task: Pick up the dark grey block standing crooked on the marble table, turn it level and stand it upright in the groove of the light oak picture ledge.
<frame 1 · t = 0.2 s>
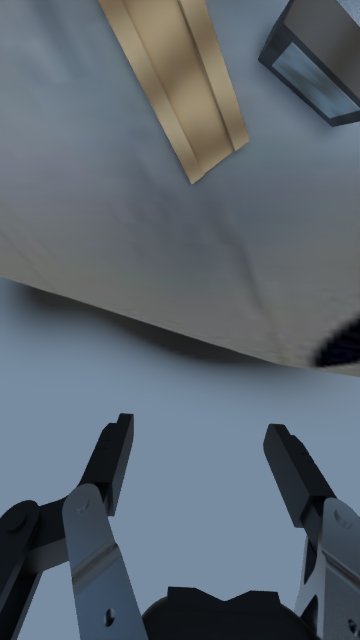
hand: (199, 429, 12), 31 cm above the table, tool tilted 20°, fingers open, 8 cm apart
dark grey block: (306, 81, 23), on the table
picture ledge: (176, 69, 23), on the table
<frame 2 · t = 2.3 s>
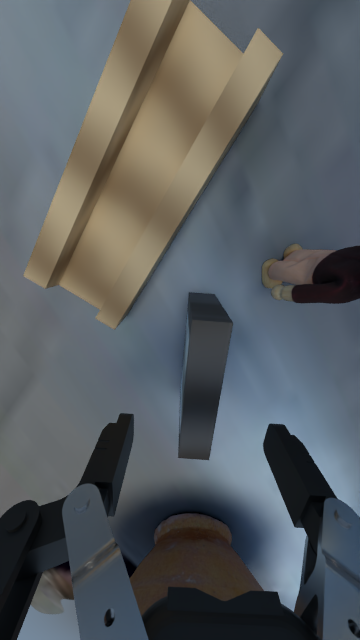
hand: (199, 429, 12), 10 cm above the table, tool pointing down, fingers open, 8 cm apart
grandmother figurine: (287, 263, 18), on the table
jug: (191, 530, 34), on the table
dark grey block: (195, 347, 22), on the table
picture ledge: (142, 197, 17), on the table
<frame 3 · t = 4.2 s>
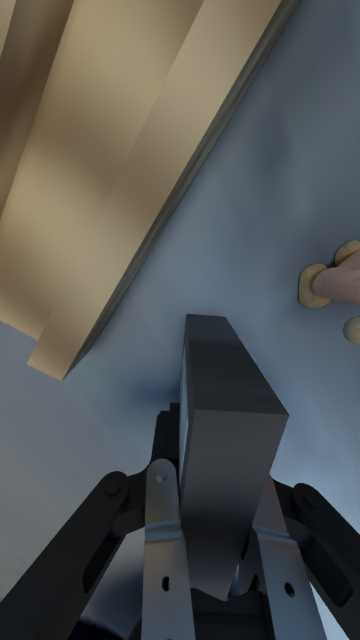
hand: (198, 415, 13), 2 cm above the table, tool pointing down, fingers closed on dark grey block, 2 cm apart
grandmother figurine: (339, 271, 12), on the table
dark grey block: (196, 391, 15), on the table, touching gripper
picture ledge: (108, 160, 10), on the table
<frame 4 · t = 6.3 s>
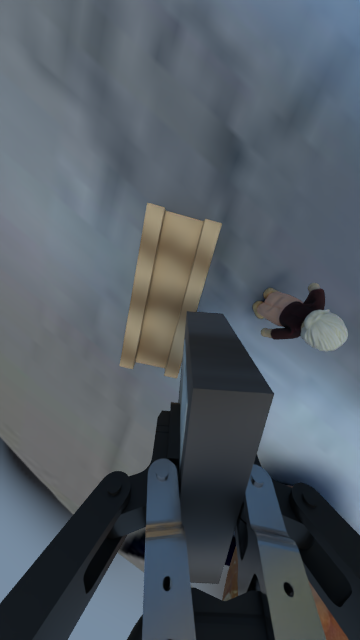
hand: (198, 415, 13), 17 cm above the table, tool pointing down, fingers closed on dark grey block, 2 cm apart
grandmother figurine: (268, 299, 28), on the table
jug: (272, 499, 43), on the table
dark grey block: (195, 384, 16), point 14 cm above the table, touching gripper
picture ledge: (166, 296, 27), on the table
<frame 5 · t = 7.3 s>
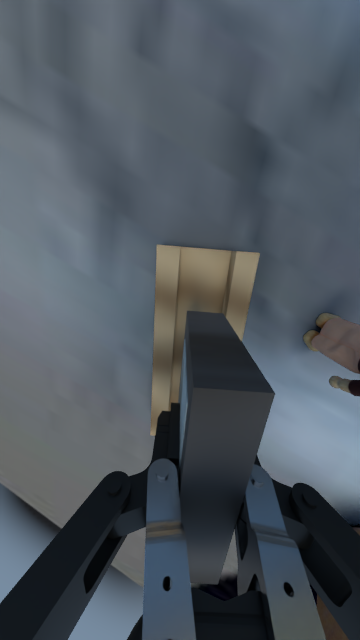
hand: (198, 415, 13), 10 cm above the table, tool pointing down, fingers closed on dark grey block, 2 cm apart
grandmother figurine: (323, 326, 22), on the table
jug: (347, 541, 36), on the table
dark grey block: (195, 384, 16), point 7 cm above the table, touching gripper
picture ledge: (193, 342, 22), on the table
when the fingers open (5 cm above the table, at t = 8.3 s): dark grey block stays where it is, resting on picture ledge.
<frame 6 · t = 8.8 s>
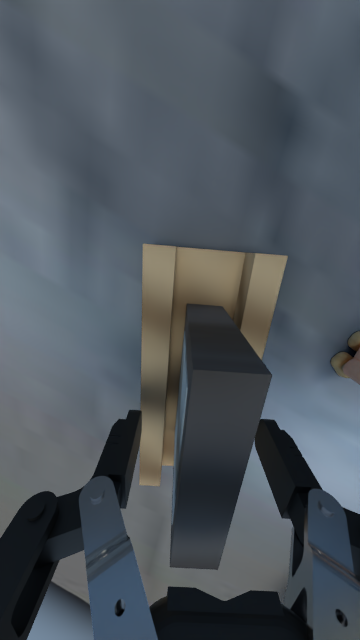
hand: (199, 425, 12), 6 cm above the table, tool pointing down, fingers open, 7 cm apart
grandmother figurine: (356, 347, 17), on the table
dark grey block: (195, 377, 16), point 2 cm above the table, touching picture ledge
picture ledge: (193, 367, 18), on the table
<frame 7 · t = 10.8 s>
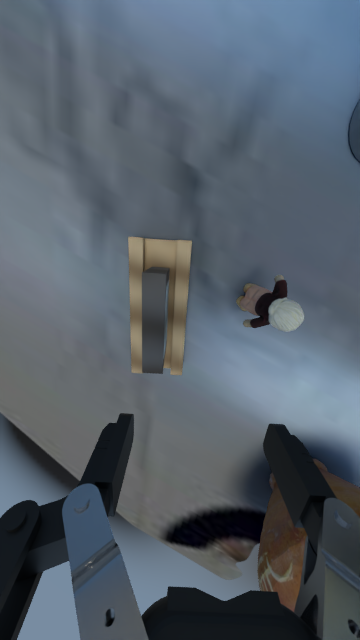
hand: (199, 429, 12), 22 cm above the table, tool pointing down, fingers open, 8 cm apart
grandmother figurine: (249, 293, 31), on the table
jug: (295, 473, 45), on the table
dark grey block: (159, 308, 30), point 2 cm above the table, touching picture ledge
picture ledge: (160, 307, 32), on the table
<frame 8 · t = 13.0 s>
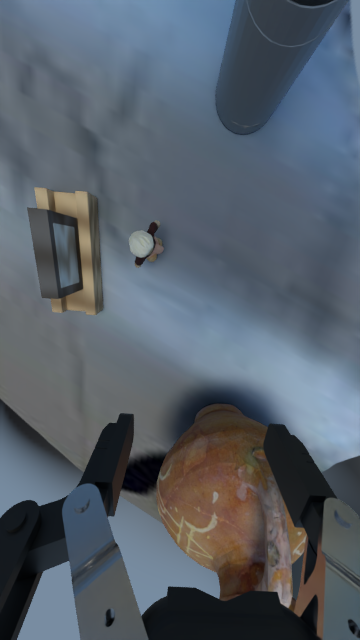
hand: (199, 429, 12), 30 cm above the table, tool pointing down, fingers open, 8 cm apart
grandmother figurine: (153, 246, 37), on the table
jug: (218, 420, 51), on the table
dark grey block: (73, 255, 35), point 2 cm above the table, touching picture ledge
picture ledge: (79, 256, 37), on the table
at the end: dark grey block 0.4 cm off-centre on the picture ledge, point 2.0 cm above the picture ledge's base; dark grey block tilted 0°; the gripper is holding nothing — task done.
